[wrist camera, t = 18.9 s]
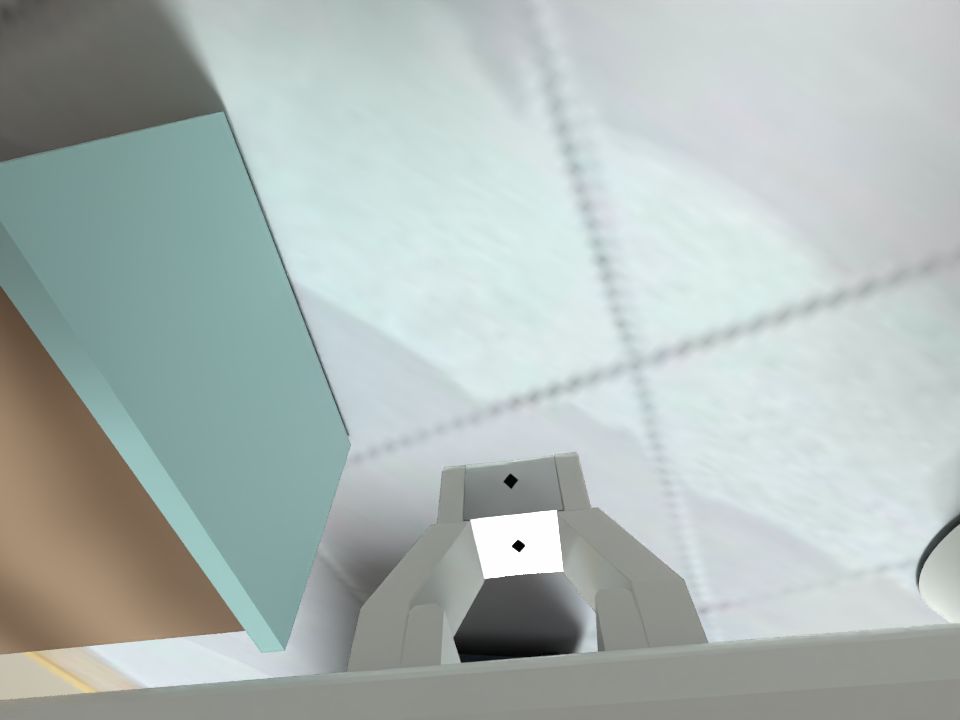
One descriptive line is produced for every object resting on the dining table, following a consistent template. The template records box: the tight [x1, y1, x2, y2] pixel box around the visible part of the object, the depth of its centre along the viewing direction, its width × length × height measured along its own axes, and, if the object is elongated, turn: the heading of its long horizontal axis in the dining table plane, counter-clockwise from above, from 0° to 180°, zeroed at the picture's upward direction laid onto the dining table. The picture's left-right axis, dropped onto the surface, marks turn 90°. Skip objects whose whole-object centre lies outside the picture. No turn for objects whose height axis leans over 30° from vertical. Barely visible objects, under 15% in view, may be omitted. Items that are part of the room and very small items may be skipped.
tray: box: [0, 111, 351, 653], centre depth 17 cm, size 13×15×10 cm
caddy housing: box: [0, 286, 245, 654], centre depth 18 cm, size 14×14×10 cm
